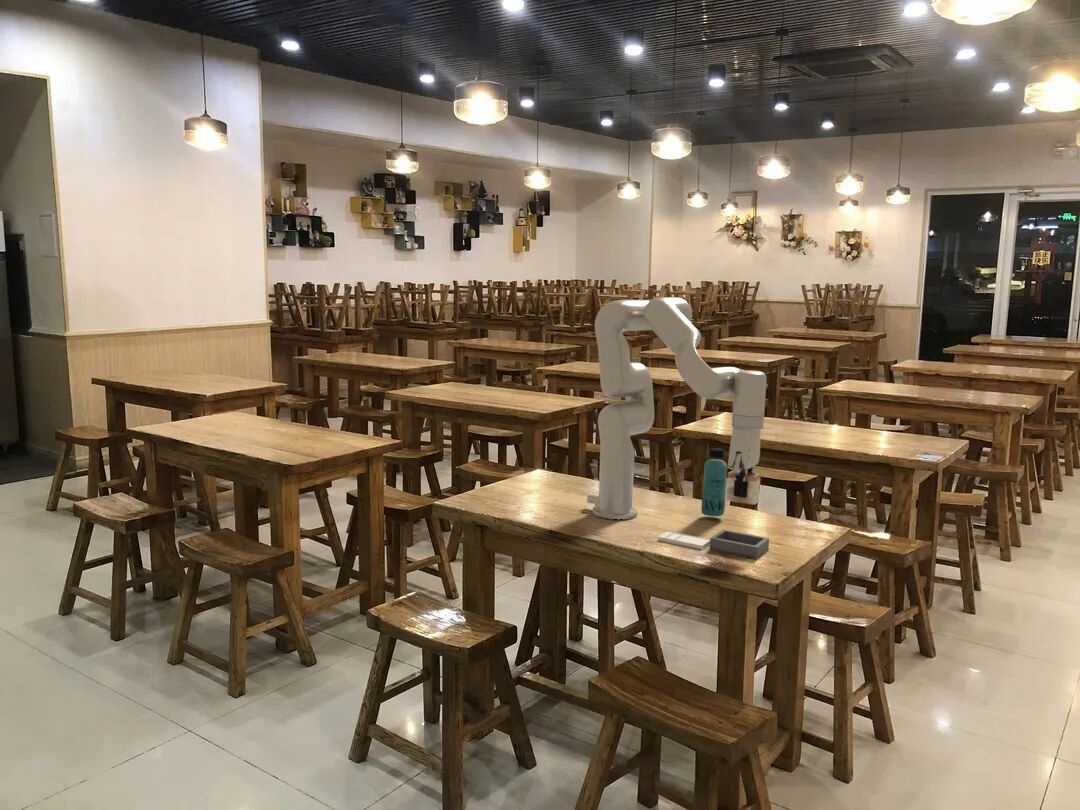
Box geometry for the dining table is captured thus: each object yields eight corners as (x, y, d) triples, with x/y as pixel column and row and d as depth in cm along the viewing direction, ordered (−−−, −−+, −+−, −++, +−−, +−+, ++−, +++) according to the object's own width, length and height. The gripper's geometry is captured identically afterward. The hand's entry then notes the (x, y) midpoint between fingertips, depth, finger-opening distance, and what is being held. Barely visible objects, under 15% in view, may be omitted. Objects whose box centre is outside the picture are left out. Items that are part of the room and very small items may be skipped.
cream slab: (657, 540, 218) (658, 536, 218) (667, 534, 223) (667, 530, 223) (702, 549, 212) (702, 545, 212) (711, 543, 217) (711, 539, 217)
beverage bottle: (696, 516, 241) (700, 446, 238) (716, 514, 243) (720, 445, 240) (708, 522, 235) (712, 451, 232) (729, 520, 237) (733, 450, 234)
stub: (726, 500, 211) (727, 472, 210) (731, 497, 214) (732, 470, 213) (754, 504, 207) (755, 476, 206) (759, 501, 210) (760, 473, 209)
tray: (709, 549, 212) (710, 538, 212) (722, 540, 220) (723, 529, 219) (756, 559, 206) (757, 547, 205) (768, 549, 213) (769, 538, 213)
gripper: (744, 415, 216) (739, 486, 219) (720, 424, 203) (716, 499, 205) (773, 418, 213) (768, 490, 215) (751, 428, 199) (746, 504, 201)
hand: (743, 494), depth 210 cm, fingers closed on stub, 3 cm apart
